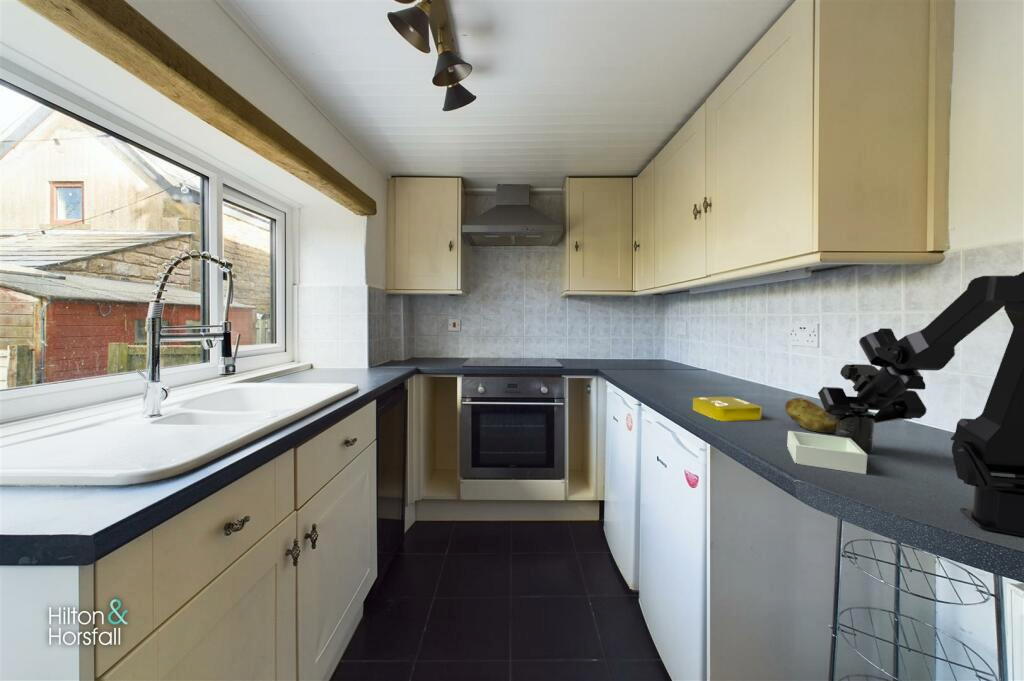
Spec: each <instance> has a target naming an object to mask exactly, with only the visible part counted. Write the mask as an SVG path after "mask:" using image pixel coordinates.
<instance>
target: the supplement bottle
mask: <svg viewBox="0 0 1024 681" xmlns="http://www.w3.org/2000/svg"><path fill="white" fill-rule="evenodd" d="M874 415H875V414H873V413H872V412H871V411H870V410H866V408H857V407H850V411H849V412H848V413H846V416H844V417H842V418H839V419H837V424H836V432H835V437H843V438H851V439H852V440H853V441H854V442H855V443H856V444H857V445H858V446H859V447H860V448H861V449H862V450H863V451H864V452H865V453H866V454H869V453H871V452H872V451H873V446H874V435H875V434H874V432H875V424H876V423H875V417H874Z"/></svg>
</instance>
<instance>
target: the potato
mask: <svg viewBox="0 0 1024 681" xmlns="http://www.w3.org/2000/svg"><path fill="white" fill-rule="evenodd" d="M784 408H785V409H784V410H785V412H786V414H787V415H788V416H789V417H790V419H791V420H792V421H793V422H795V423H797V424H798V425H800V427H802V428H804V429H805V430H809V431H811V432H816V433H817V432H818V433H823V434H825V433H828V434H834V433H836V424H837V420H834V421H830V420H829V418H828V416H829V413H827V412H826V411H825V409H824V407H821V406H819V405H817V404H816V403H814V402H813V401H812V400H809V399H807V398H802V397H800V398H799V397H795V398H792V399H790V400H789V399H788V400H787V401H786V402H785V404H784Z"/></svg>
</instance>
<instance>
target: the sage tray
mask: <svg viewBox="0 0 1024 681" xmlns="http://www.w3.org/2000/svg"><path fill="white" fill-rule="evenodd" d="M786 444H787V445H786V446H787V447H788V448H787V447H786V448H787V450H788V452H789V454H790V456H791V458H792V460H793V462H794V464H796V463H797V465H803V466H810V467H815V468H824V469H828V470H829V469H830V470H836V471H837V470H838V471H843V472H849V473H856V474H861V475H866V474H867V466H868V465H867V464H868V453H865V452H864V451H863V450H862V449H861V448H860V447H859V446H858V445H857V444H856V443H855V442H854V441H853V440H852V439H851V438H843V437H836V435H835V436H834V435H825V434H817V433H808V432H801V431H792V430H787V442H786Z"/></svg>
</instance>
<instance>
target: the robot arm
mask: <svg viewBox="0 0 1024 681" xmlns="http://www.w3.org/2000/svg"><path fill="white" fill-rule="evenodd" d="M1001 309H1003V310H1004V312H1005V313H1006V315H1007V317H1008V319H1009V322H1010V323H1011V325H1012V332H1011V334H1010V337H1009V339H1008V342H1007V345H1006V348H1005V351H1004V354H1003V356H1002V359H1001V361H1000V365H999V367H998V369H997V372H996V375H995V377H994V381H993V382H992V387H991V389H990V391H989V394H988V396H987V399H986V402H985V405H984V408H983V410H982V413H981V414H980V415H979V416H977V417H976V418H960V419H959V420H958V421H957V422H956V427H955V432H954V434H953V435H952V436H951V437H950V440H951V441H953V442H952V446H951V453H952V459H953V463H954V467H955V472H956V476H957V479H960V480H961V481H963V483H964V484H965V485H968V486H972V487H973V496H972V504H971V508H966V507H965V508H964V507H960V508H959V511H960V513H962V514H963V515H964V516H965V517H967V518H968V519H969V520H970V521H971V522H972V523H974V524H975V525H976V526H977V527H979V528H980V529H983V530H986V531H991V532H998V533H1004V534H1008V535H1014V536H1019V537H1024V270H1023V271H1022V272H1020V273H1019V274H1015V275H1008V274H1007V275H1006V274H1005V275H981V276H979V277H974V278H973V279H971V280H970V282H969V283H968V285H967V288H966V290H965V291H964V292H962V293H961V294H960V295H959V296H958V297H957V298H956V299H955V300H954V301H952V302H951V304H949V305H948V306H947V307H946V308H945V309H944V310H943V311H941V312H940V314H938V315H937V316H936V317H935V318H934V319H933V320H932V321H931V322H930V323H929V324H928V325H926V326H925V327H923V329H920V330H919V331H915V332H912V333H909V334H906V335H904V336H903V337H902V338H900V339H897V337H896V336H895V333H894V331H893V330H892V328H888V327H887V328H886V327H885V328H884V327H881V328H879V329H878V330H877V331H873V332H870V333H868V334H865V335H864V336H861V337H860V338H859V341H858V343H859V346H860V348H861V349H862V351H863V353H864V354H865V356H866V358H867V360H868V361H869V363H870V364H861V363H860V364H845V365H844V366H842V368H841V369H840V372H839V373H840V375H841V377H842V378H844V380H845V381H847V380H849V381H851V382H852V383H853V386H852V388H853V391H854V392H857V393H856V396H851V395H849V396H848V395H847V394H846V392H845V390H844V388H842V387H836V386H835V387H833V386H822V388H820V390H819V391H818V393H817V395H818V396H819V399H820V402H821V404H822V406H823V409H824V410H825V411H826V412H827V413H829V416H828V418H829V420H830V421H834V420H837V419H839V418H842V417H844V416H846V413H848V412H849V411H850V407H857V408H866V410H868V411H876V413H874V414H873V415H874V417H875V423H874V424H879V423H887V422H894V421H902V420H913V419H921V418H922V417H924V415H926V414H927V410H928V408H927V407H926V405H925V403H924V402H923V400H922V399H921V397H920V396H919V393H917V391H916V390H925V389H926V383H925V381H924V377H923V375H921V373H920V371H932V372H933V371H940V370H943V369H944V368H945V367H946V366H947V364H949V363H950V361H951V360H952V359H953V358H954V357H955V356H956V349H955V347H956V346H957V345H958V344H959V343H960V342H962V341H963V339H965V338H966V337H967V336H969V335H970V334H971V333H972V332H974V331H975V330H976V329H978V327H980V326H981V325H982V324H984V323H985V322H986V321H987V320H989V319H990V318H991V317H992V316H994V315H995V314H996V313H997V312H999V311H1000V310H1001ZM877 367H880V368H879V369H878V368H877ZM992 474H1004V475H1014V476H1002V475H1001V476H1000V475H992Z"/></svg>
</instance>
